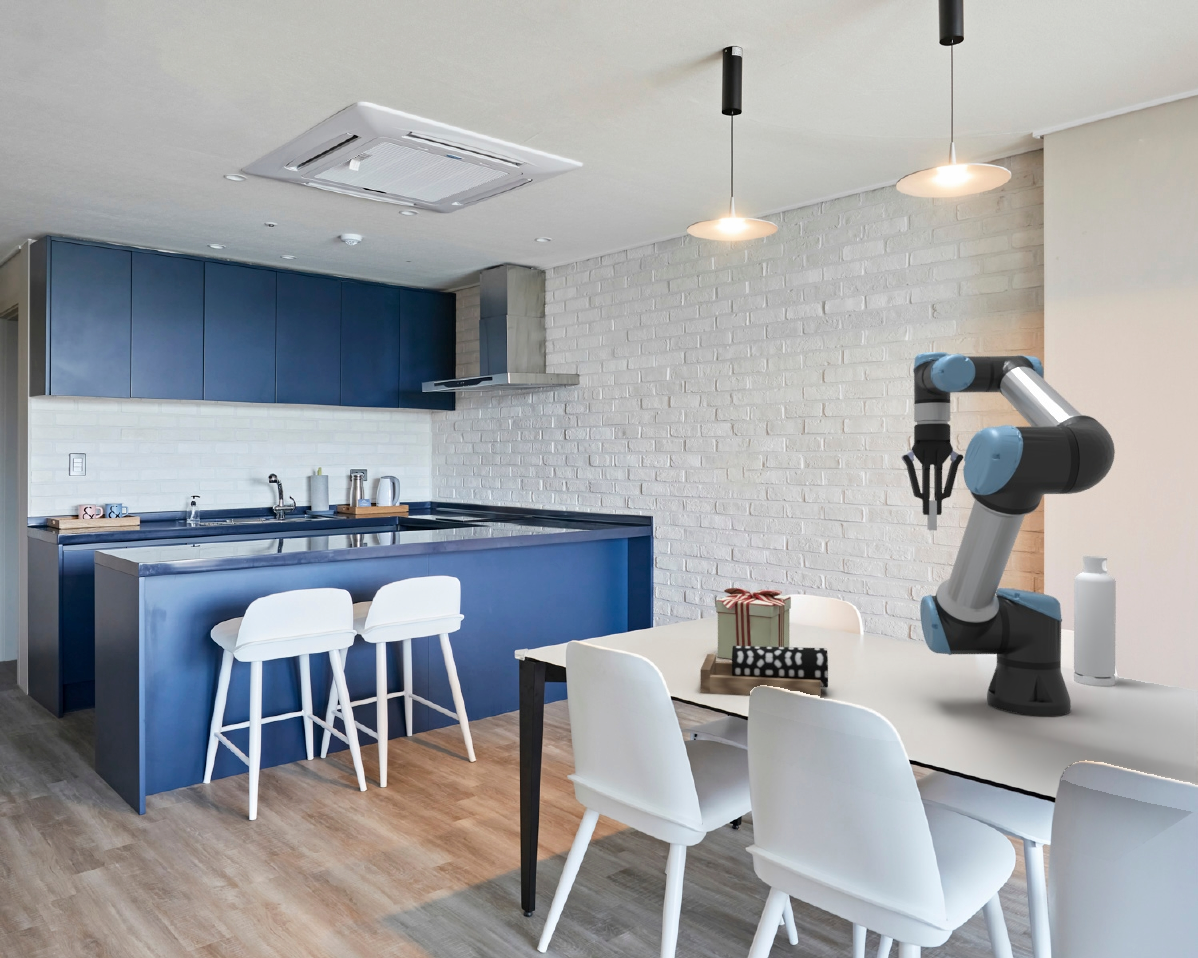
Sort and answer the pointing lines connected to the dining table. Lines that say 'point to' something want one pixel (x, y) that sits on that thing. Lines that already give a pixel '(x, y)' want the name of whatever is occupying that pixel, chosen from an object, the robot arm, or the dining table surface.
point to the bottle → (1094, 624)
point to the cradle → (746, 680)
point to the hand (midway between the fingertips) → (932, 529)
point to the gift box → (752, 620)
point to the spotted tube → (781, 662)
